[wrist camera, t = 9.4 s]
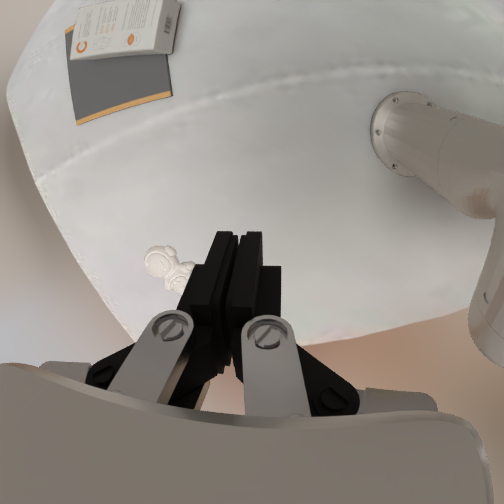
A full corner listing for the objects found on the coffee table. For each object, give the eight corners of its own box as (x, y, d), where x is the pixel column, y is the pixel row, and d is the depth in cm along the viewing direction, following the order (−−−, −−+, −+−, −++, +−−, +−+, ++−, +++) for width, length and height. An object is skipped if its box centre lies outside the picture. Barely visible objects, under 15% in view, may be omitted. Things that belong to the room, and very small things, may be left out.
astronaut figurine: (183, 299, 53) (179, 310, 50) (137, 258, 48) (131, 268, 45) (214, 280, 49) (211, 291, 47) (166, 233, 45) (159, 242, 42)
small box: (182, 4, 24) (101, 13, 23) (166, -9, 18) (77, 7, 18) (172, 55, 28) (93, 60, 28) (153, 50, 23) (67, 60, 22)
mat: (160, -12, 22) (158, -13, 22) (172, 95, 32) (170, 96, 31) (67, 30, 24) (64, 30, 24) (79, 124, 34) (76, 125, 33)
